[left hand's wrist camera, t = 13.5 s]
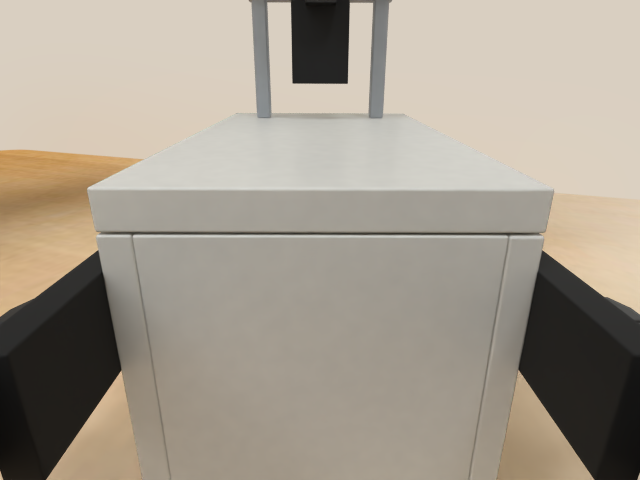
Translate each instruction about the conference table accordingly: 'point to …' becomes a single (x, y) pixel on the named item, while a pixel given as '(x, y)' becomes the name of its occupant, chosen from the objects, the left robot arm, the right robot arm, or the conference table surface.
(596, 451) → the left robot arm
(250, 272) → the chest
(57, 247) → the conference table surface
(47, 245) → the conference table surface
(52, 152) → the conference table surface
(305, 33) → the right robot arm
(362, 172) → the lid
